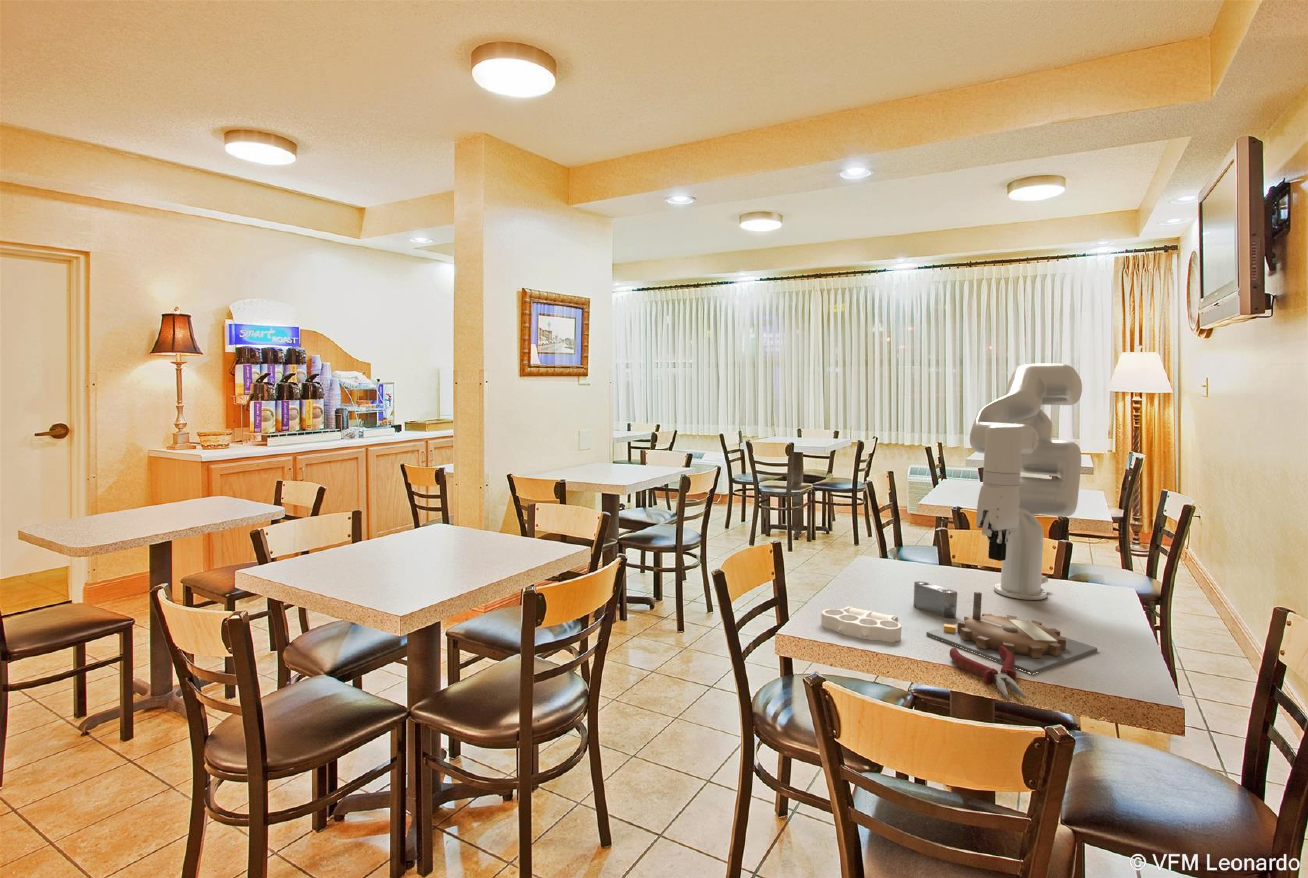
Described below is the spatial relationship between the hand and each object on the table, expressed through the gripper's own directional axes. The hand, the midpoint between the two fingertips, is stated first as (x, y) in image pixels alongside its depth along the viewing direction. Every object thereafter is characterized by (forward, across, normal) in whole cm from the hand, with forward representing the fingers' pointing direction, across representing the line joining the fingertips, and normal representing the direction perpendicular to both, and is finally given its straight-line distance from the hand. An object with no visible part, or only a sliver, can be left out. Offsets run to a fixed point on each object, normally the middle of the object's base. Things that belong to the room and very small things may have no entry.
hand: (996, 559), depth 157 cm
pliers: (+17, +26, +15) cm, 34 cm away
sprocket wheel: (+16, +5, +7) cm, 19 cm away
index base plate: (+16, +5, +7) cm, 19 cm away
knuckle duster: (+17, +26, -15) cm, 35 cm away
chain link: (+16, +1, -15) cm, 22 cm away
